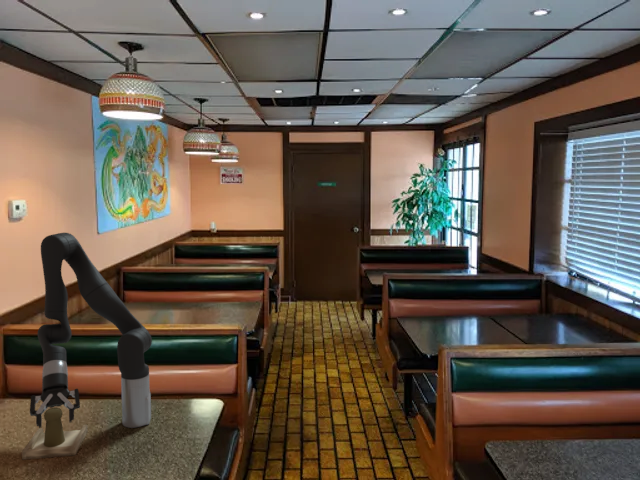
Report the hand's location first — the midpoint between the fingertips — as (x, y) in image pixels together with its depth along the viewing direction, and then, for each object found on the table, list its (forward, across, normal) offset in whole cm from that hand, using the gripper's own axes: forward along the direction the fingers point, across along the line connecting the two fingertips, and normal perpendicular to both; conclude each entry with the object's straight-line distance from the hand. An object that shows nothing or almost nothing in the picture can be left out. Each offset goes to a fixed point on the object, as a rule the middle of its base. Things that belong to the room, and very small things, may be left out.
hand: (55, 424), depth 157 cm
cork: (+4, -1, +6) cm, 7 cm away
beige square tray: (+4, 0, +6) cm, 8 cm away
